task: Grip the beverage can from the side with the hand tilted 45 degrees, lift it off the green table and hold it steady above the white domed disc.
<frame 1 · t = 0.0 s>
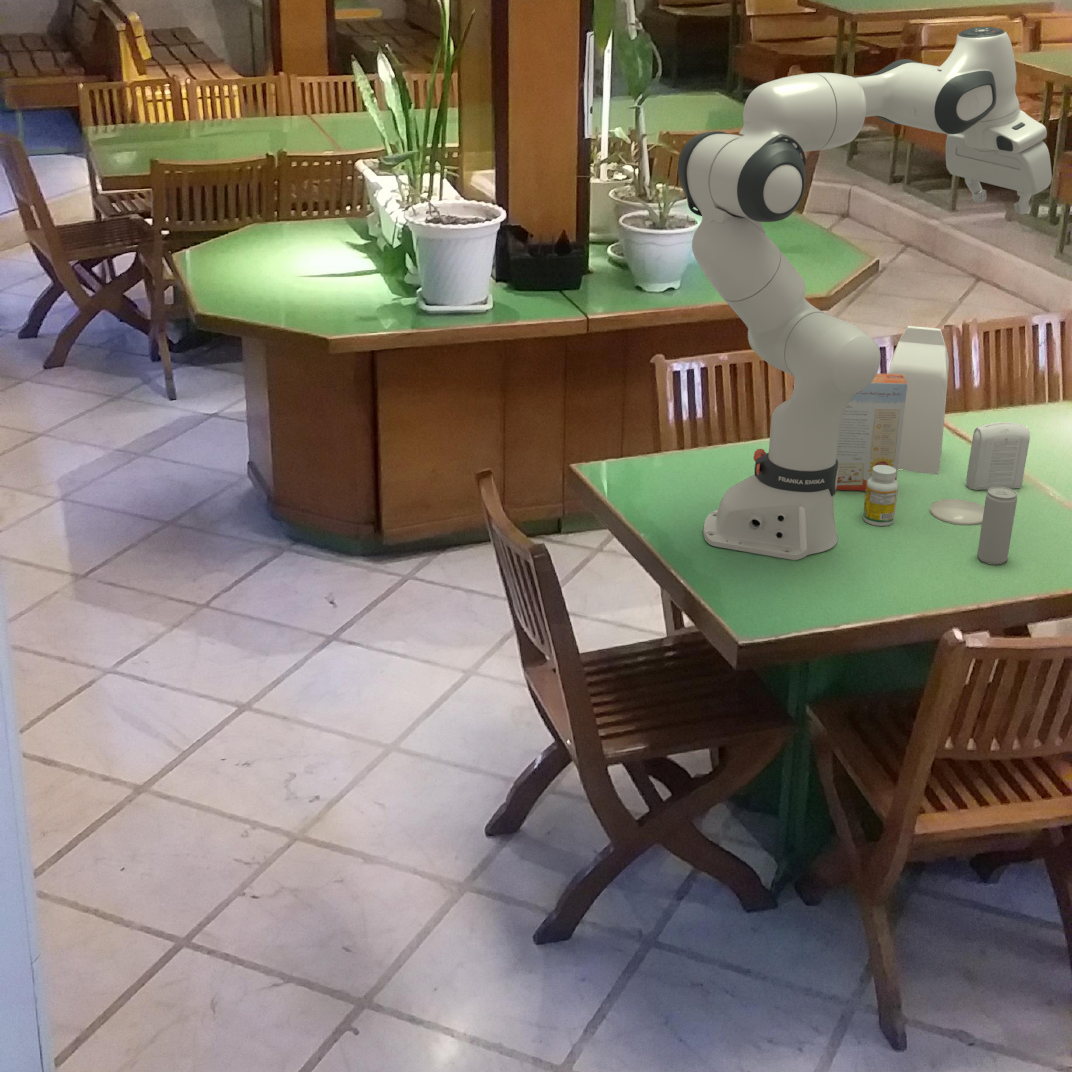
hand: (1000, 206, 240), 52 cm above the table, tool tilted 20°, fingers open, 8 cm apart
milk: (907, 460, 278), on the table
beverage can: (991, 560, 239), on the table
cracker box: (854, 486, 267), on the table
white domed disc: (959, 513, 255), on the table
photo printer: (993, 487, 267), on the table
supplement bottle: (878, 521, 252), on the table
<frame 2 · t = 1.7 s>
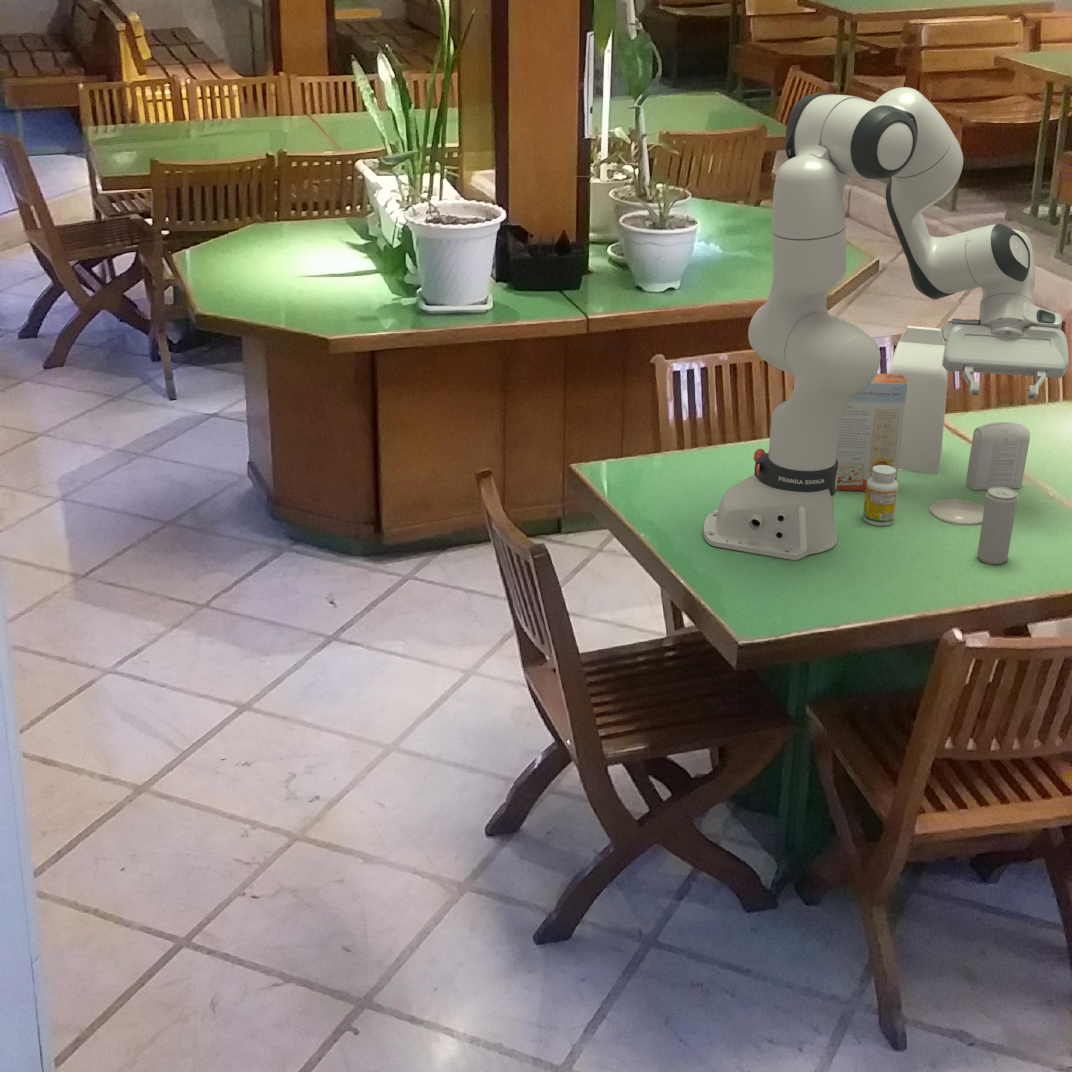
hand: (1003, 395, 242), 23 cm above the table, tool tilted 45°, fingers open, 8 cm apart
nothing on the table moved.
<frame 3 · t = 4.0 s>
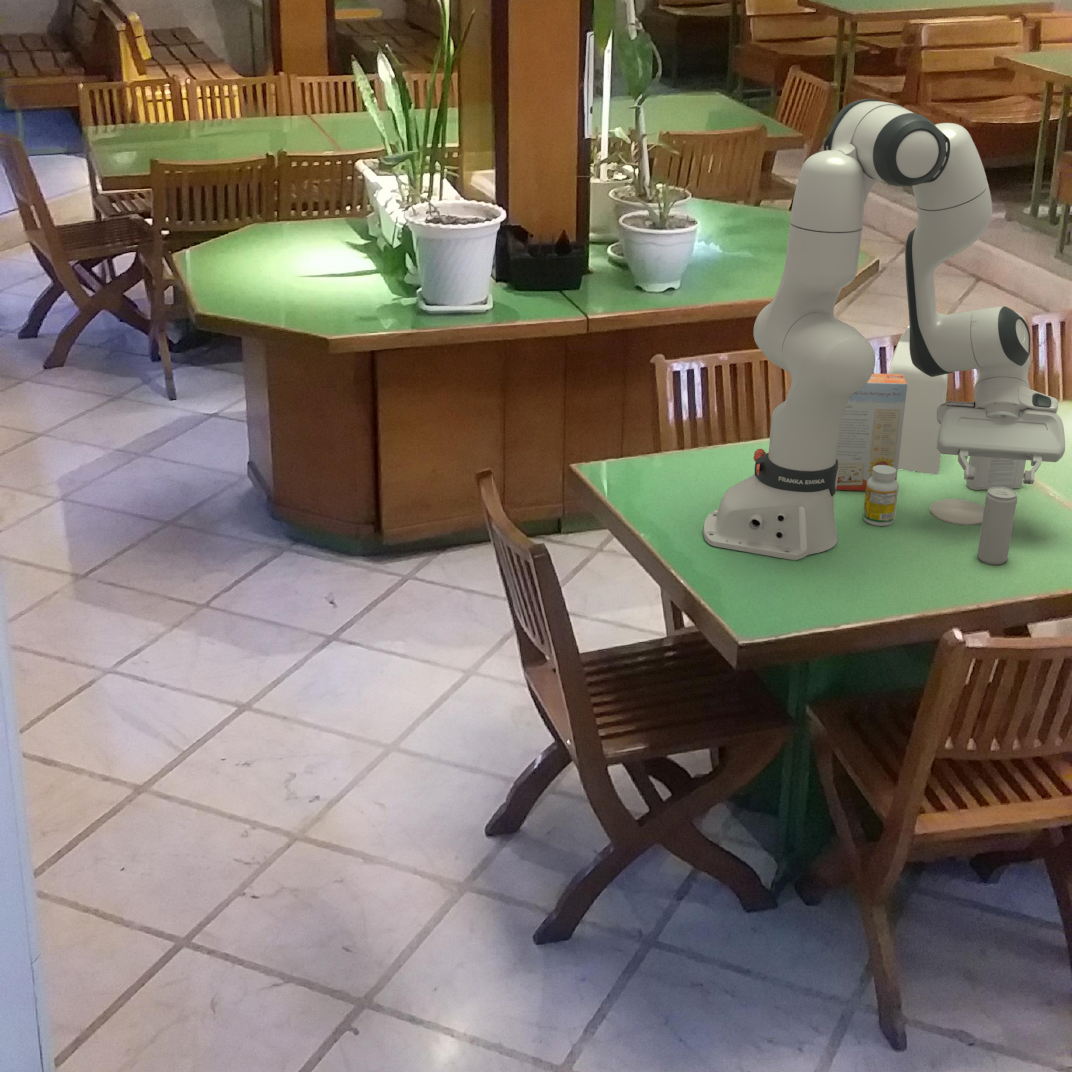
hand: (998, 480, 239), 12 cm above the table, tool tilted 45°, fingers open, 8 cm apart
nothing on the table moved.
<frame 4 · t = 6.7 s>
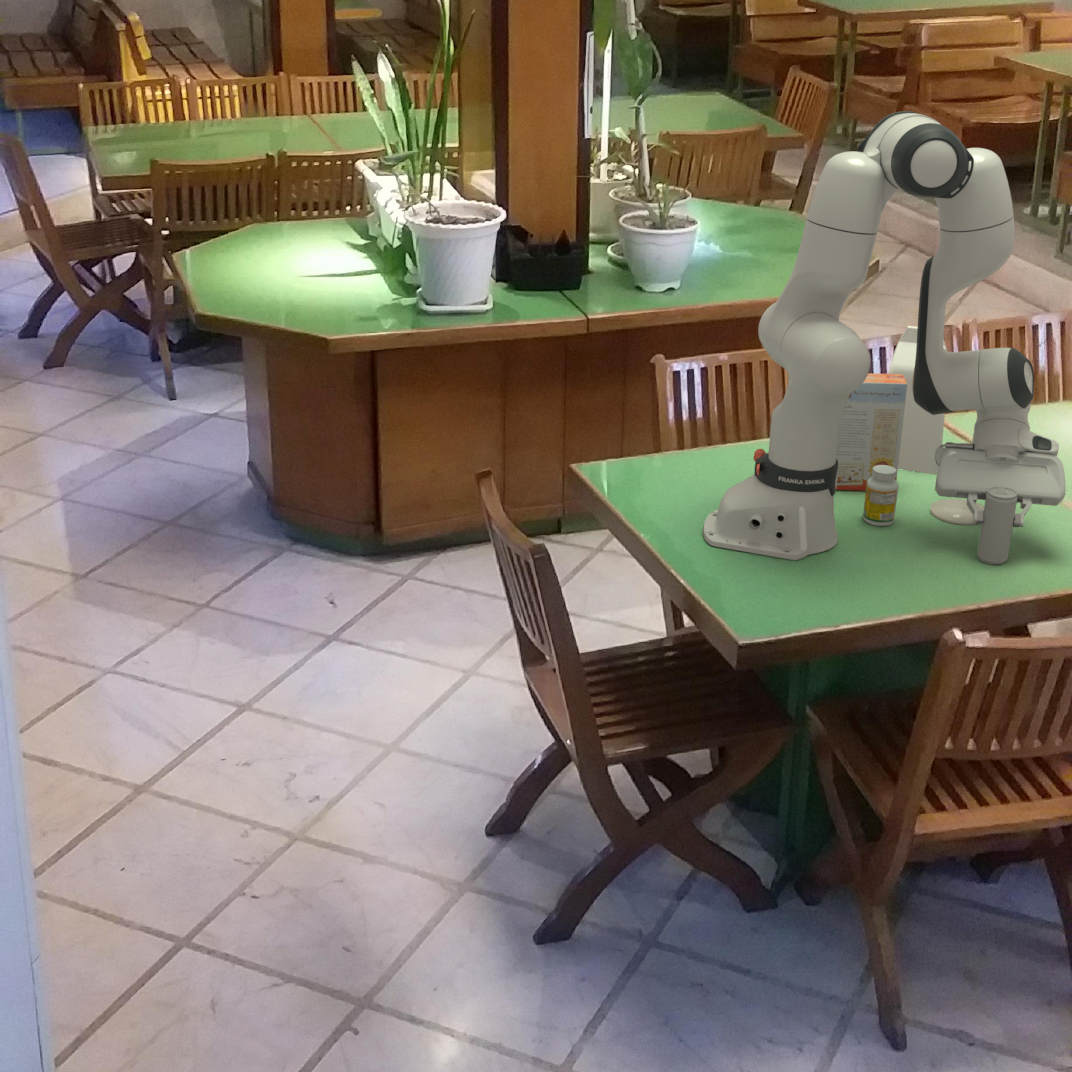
hand: (998, 524, 235), 7 cm above the table, tool tilted 45°, fingers closed on beverage can, 5 cm apart
beverage can: (991, 560, 239), on the table, touching gripper
everything else where it was.
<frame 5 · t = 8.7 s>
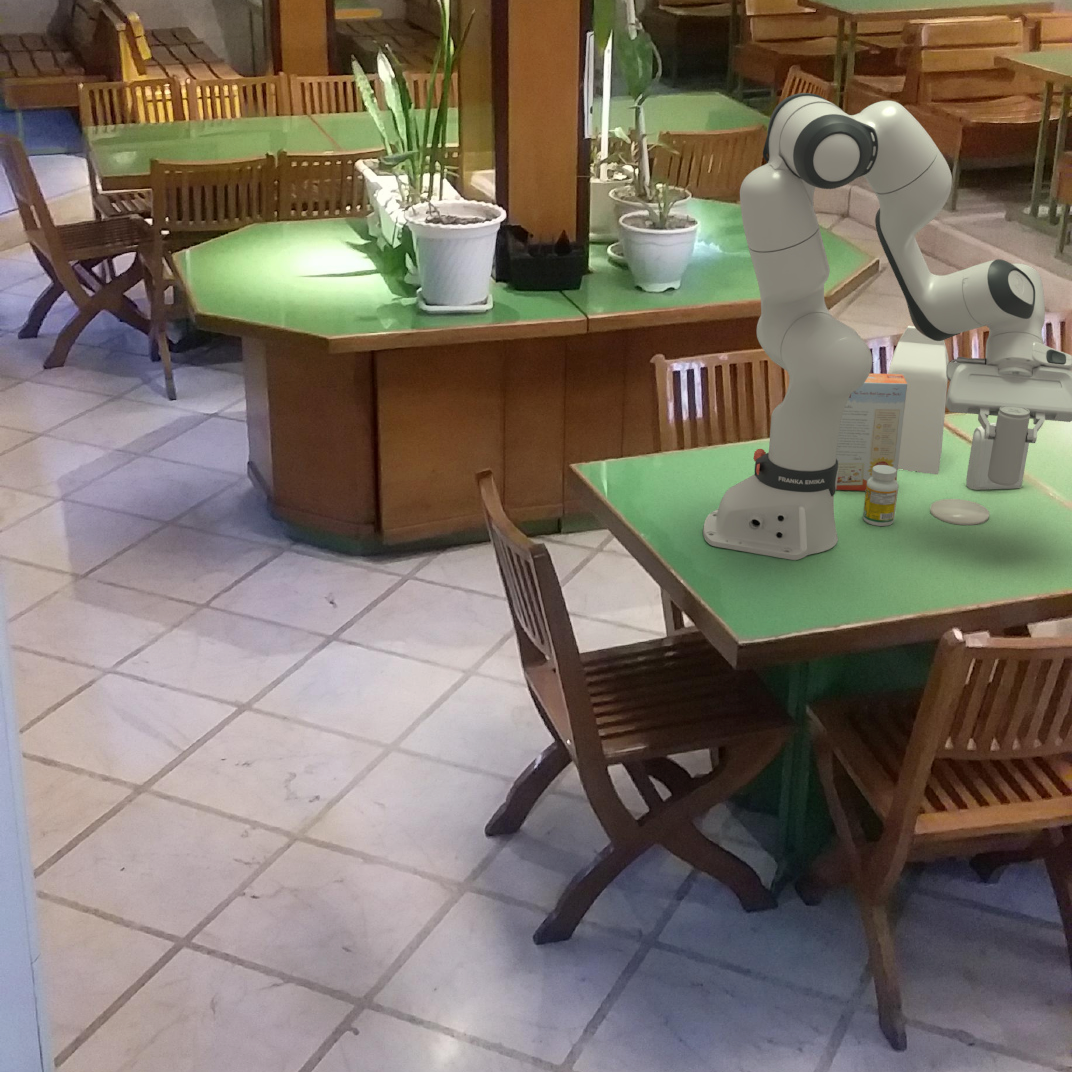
hand: (1010, 439, 229), 21 cm above the table, tool tilted 45°, fingers closed on beverage can, 5 cm apart
beverage can: (1002, 481, 233), point 14 cm above the table, touching gripper
everything else where it was.
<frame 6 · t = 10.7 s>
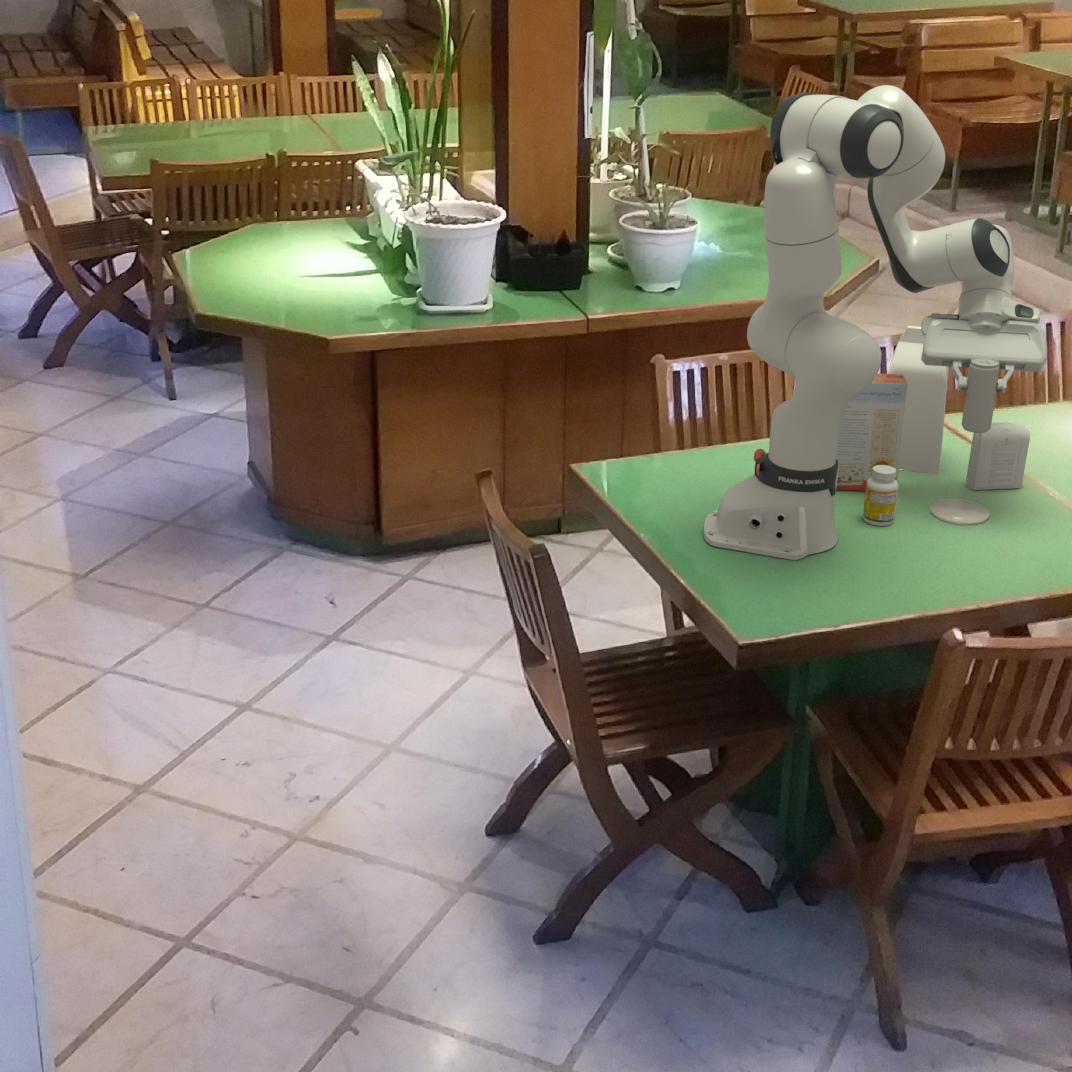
hand: (981, 389, 243), 24 cm above the table, tool tilted 45°, fingers closed on beverage can, 5 cm apart
beverage can: (975, 430, 247), point 16 cm above the table, touching gripper
everything else where it was.
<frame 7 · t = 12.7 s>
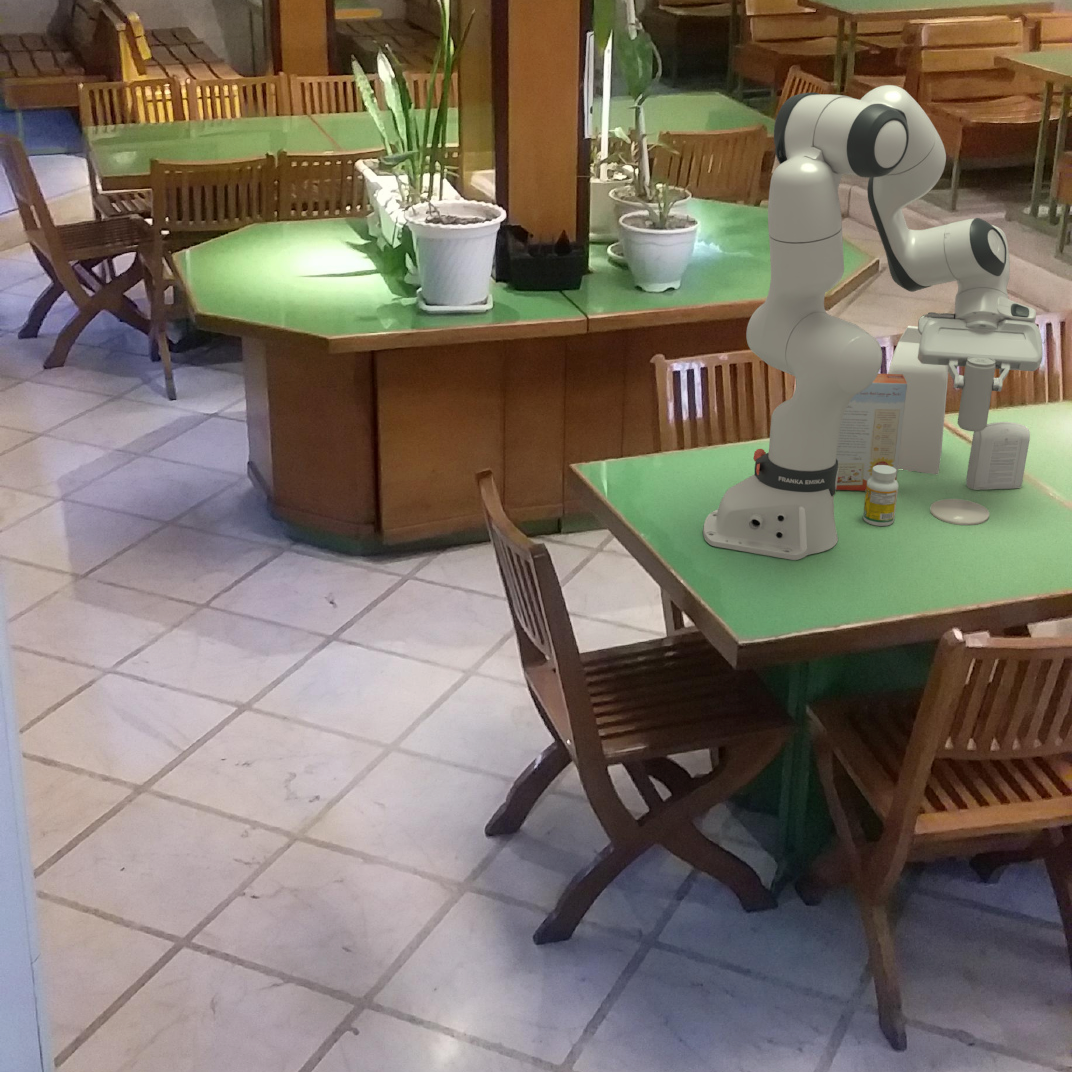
hand: (977, 388, 245), 23 cm above the table, tool tilted 45°, fingers closed on beverage can, 5 cm apart
beverage can: (971, 428, 249), point 16 cm above the table, touching gripper
everything else where it was.
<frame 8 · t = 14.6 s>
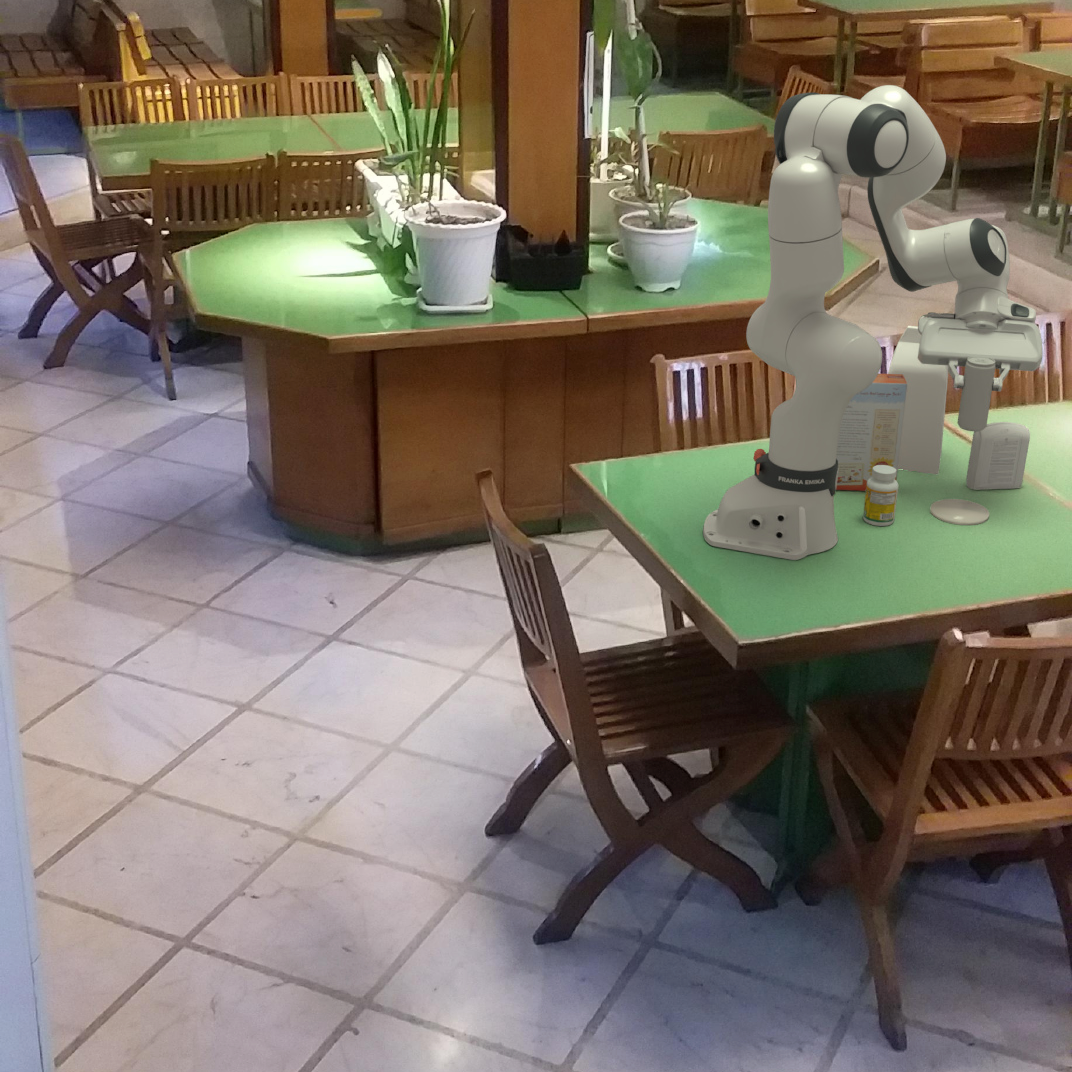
hand: (977, 388, 245), 23 cm above the table, tool tilted 45°, fingers closed on beverage can, 5 cm apart
beverage can: (971, 428, 249), point 16 cm above the table, touching gripper
everything else where it was.
at the end: the gripper is holding beverage can; beverage can point 15.9 cm above the table; beverage can 0.0 cm from the white domed disc (horizontally) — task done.
